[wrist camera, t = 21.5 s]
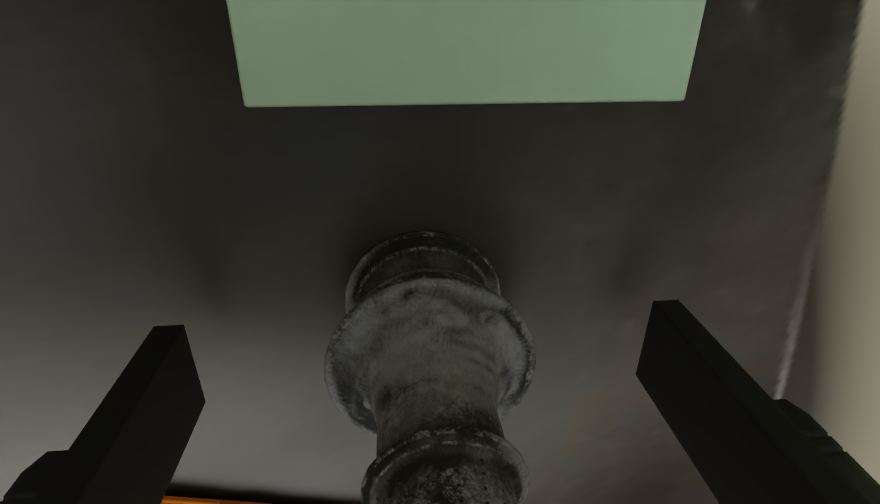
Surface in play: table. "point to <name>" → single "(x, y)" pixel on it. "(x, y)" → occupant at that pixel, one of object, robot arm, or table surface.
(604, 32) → the green button housing
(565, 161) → the table surface
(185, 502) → the smartphone
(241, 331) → the table surface
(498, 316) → the salt shaker
